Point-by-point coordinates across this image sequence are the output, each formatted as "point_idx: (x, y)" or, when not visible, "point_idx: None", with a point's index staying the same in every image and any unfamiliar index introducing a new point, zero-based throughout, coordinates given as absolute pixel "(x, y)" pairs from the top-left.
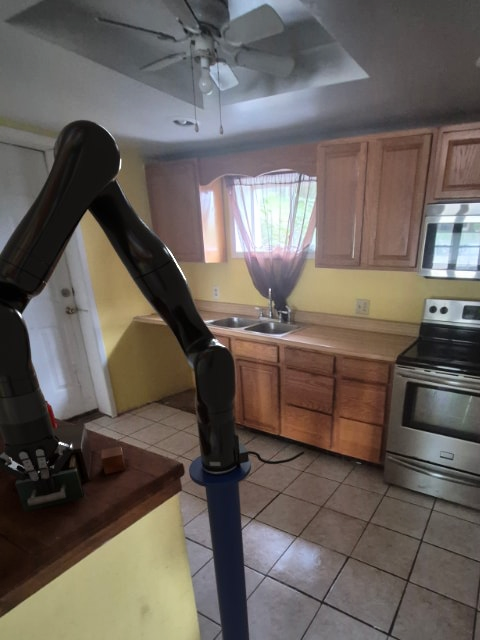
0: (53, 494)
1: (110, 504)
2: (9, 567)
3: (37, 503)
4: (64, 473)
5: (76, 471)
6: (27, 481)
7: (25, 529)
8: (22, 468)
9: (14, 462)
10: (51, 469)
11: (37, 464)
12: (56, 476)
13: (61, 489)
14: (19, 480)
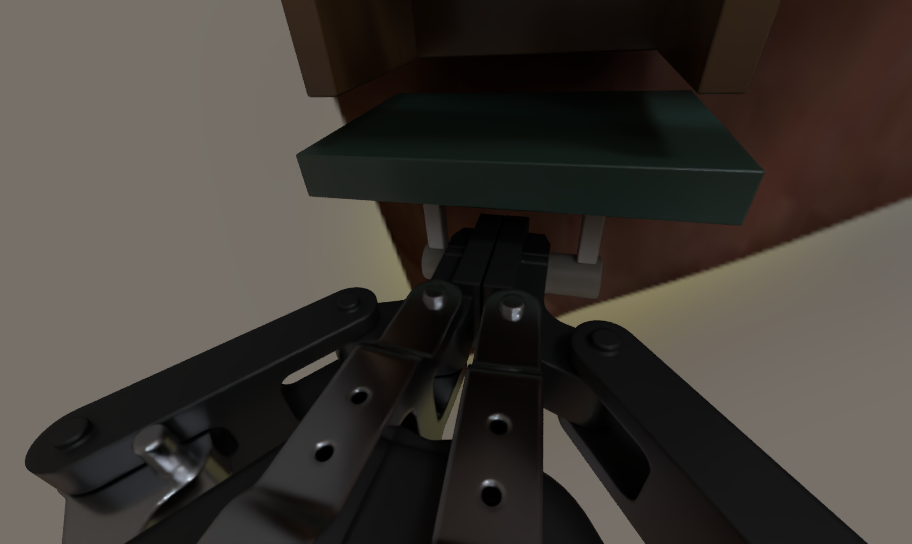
0: None
1: (799, 210)
2: None
3: None
4: (635, 215)
5: (745, 201)
6: (375, 198)
7: None
8: (324, 347)
9: (234, 399)
10: (556, 413)
11: (433, 375)
12: (566, 207)
13: (584, 240)
14: (315, 162)
